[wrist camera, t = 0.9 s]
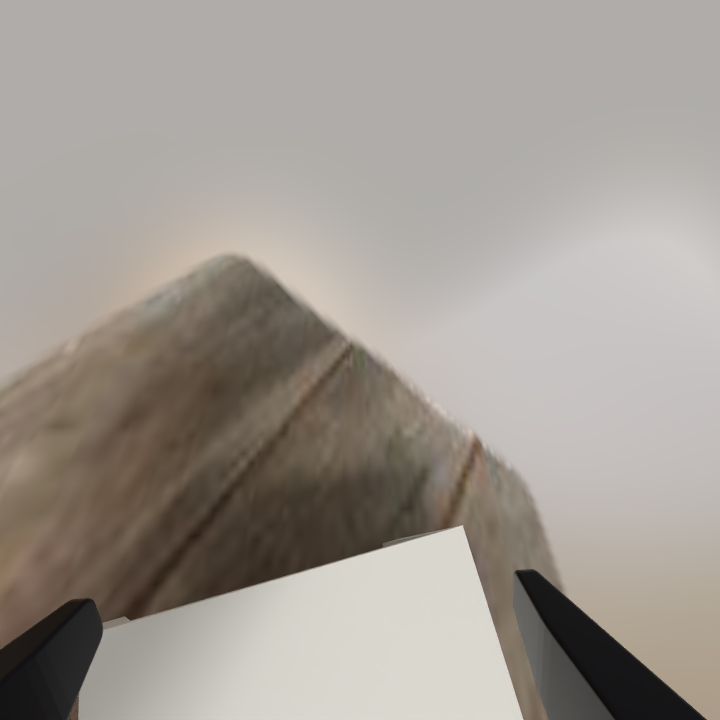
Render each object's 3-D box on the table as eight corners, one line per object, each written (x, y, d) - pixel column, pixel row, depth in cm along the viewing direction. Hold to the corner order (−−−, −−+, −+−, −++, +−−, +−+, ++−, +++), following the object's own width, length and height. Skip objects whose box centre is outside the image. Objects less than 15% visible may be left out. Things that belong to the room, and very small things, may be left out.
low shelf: (444, 715, 24) (531, 745, 19) (79, 942, 15) (67, 1113, 10) (399, 538, 28) (462, 525, 23) (86, 627, 19) (80, 637, 14)
